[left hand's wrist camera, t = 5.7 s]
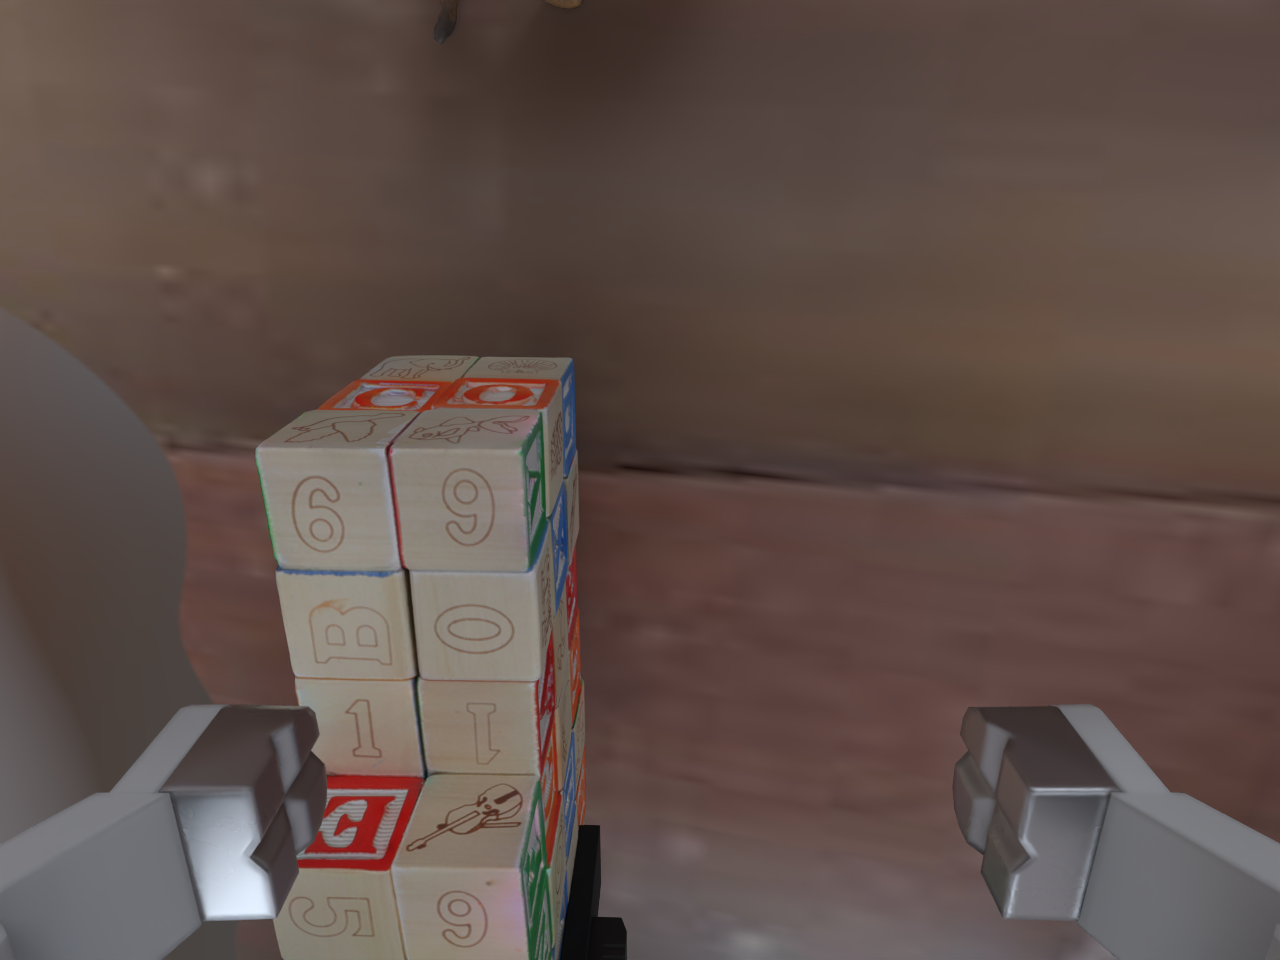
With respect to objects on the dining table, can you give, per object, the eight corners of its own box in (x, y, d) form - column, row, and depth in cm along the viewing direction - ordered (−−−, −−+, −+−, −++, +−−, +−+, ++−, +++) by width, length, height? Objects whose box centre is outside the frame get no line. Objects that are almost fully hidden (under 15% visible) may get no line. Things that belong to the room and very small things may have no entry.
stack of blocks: (384, 350, 27) (175, 492, 16) (577, 353, 27) (508, 498, 16) (438, 860, 35) (323, 1205, 23) (588, 864, 35) (548, 1215, 23)
